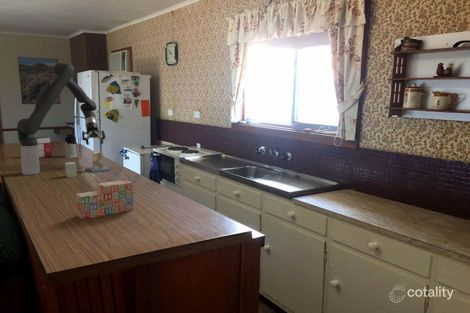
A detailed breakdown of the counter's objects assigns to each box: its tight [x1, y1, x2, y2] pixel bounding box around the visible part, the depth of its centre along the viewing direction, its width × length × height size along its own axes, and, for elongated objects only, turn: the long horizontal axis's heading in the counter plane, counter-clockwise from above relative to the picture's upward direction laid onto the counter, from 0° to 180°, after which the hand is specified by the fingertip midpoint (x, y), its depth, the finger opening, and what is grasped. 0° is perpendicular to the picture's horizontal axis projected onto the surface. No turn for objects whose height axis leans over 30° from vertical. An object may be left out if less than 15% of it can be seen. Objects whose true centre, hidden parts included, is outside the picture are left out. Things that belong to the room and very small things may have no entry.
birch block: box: [91, 151, 104, 169], centre depth 242 cm, size 5×5×10 cm
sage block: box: [64, 161, 78, 178], centre depth 224 cm, size 5×5×8 cm
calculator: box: [35, 136, 52, 159], centre depth 288 cm, size 11×4×15 cm, turn 143°
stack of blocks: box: [75, 179, 134, 220], centre depth 156 cm, size 21×6×12 cm, turn 128°
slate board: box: [85, 164, 112, 174], centre depth 243 cm, size 11×13×2 cm
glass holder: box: [64, 136, 85, 158], centre depth 292 cm, size 9×14×15 cm, turn 115°
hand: (95, 144), depth 247 cm, fingers open, 8 cm apart
